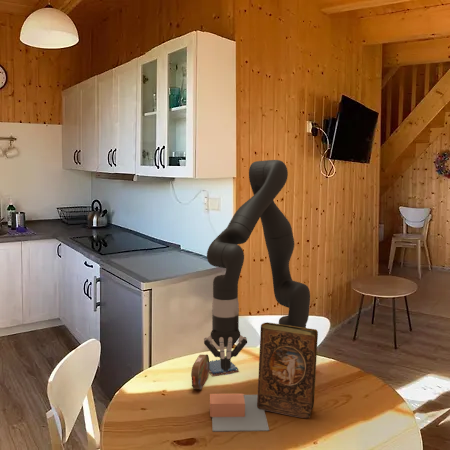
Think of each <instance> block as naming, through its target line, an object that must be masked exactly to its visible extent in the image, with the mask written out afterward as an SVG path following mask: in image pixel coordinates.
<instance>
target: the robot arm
mask: <svg viewBox="0 0 450 450" xmlns="http://www.w3.org/2000/svg"><path fill="white" fill-rule="evenodd" d="M288 174H289V172H288V167H287V165H286V164H285V163H284V161H282V160H279V159H267V160H257V161H253V162H252V163H251V164H250V166H249V169H248V179H249V184H250V187H251V190H252V194H253V195H252V196H251V197H250V198H249V199H248V200H247V201H245V202H244V203H243V204H241V206H239V207H238V209H237V210H236V211H235V213H234V214H233V216H232V218H231V220H230V221H229V223H228V225H227V227H225V229H223V230H222V232H221V233H219V234H218V235H217V236H216V238H214V239H213V241H212V242H211V243H210V244H209V247H208V248H207V252H206V260H207V262H208V263H209V264H210V265H211V266H212V267H215V268H222V269H225V273H224V274H220V275H217V276H215V277H214V279H213V281H212V308H211V309H212V310H211V313H212V315H211V317H212V321H211V324H212V326H211V327H212V328H211V329H212V330H211V331H210V335H209V336H208V337H205V338H203V343H204V345H205V347H206V348H207V349H208V350H209V351H210V353H211V354H212V355H213V356H214V357H215V358H219V359H221V369H223V371H228V369H230V367H231V362H232V361H231V359H232V358H236V357H237V356H238V355H239V354H240V353H241V351H242V349H244V347H245V346H246V345H247V343H248V340H247V339H248V338H247V337H246V336H243V335H241V331H240V330H239V328H240V326H239V325H240V323H239V321H240V319H239V318H240V317H239V316H240V315H239V313H240V308H239V307H240V306H239V304H240V303H239V295H238V294H239V292H238V291H239V280H240V276H241V273H242V269H243V265H244V262H245V253H244V250H243V248H242V247H241V246H240V245H243V244H245V243H246V242H247V241H248V240H249V238H250V237H251V235H252V232H253V231H254V230H255V227H256V225H257V224H258V221H259V220H260V222H261V226H262V230H263V231H262V232H263V236H264V241H265V245H266V250H267V254H268V258H269V264H270V268H271V269H270V270H271V277H272V288H273V294H274V299H275V300H276V302H277V303H278V304H279V305H281V306H282V307H285V308H288V314H287V315H284V316H282V317H280V318H279V319H278V324H282V325H289V326H296V327H302V328H307V327H306V326H307V323H308V320H309V316H310V305H311V303H310V302H311V291H310V288H309V286H308V285H307V284H305V283H302V282H299V281H296V280H293V278H292V276H291V271H290V261H291V258H292V255H293V253H294V249H295V239H294V233H293V227H292V225H291V223H290V221H289V219H288V218H287V217H286V216H285V214H284V213H283V211H282V210H281V209H280V208H279V207H278V205H277V204H276V203H275V201H274V200H275V199H276V197H277V196H278V194H280V192H281V191H282V190H283V188H284V187H285V185H286V183H287V180H288V178H289V177H288V176H289V175H288ZM237 341H238V342H237ZM213 342H214V343H215V344H216V345H217V346H218V347H219V350H218V349H217V347H216V346H215V345H214V344H213ZM236 343H237V344H236ZM235 344H236V345H235ZM234 345H235V347H234V348H233V346H234ZM225 347H226V350H225ZM225 351H226V352H225Z"/></svg>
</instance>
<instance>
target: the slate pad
mask: <svg viewBox="0 0 450 450" xmlns="http://www.w3.org/2000/svg"><path fill="white" fill-rule="evenodd" d="M257 397H258V394H244V400H245V417H211V422H212V423H211V424H212V425H211V426H212V432H270V428H269V424H268V420H267V416H266V410H261V409H258V408H257Z"/></svg>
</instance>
